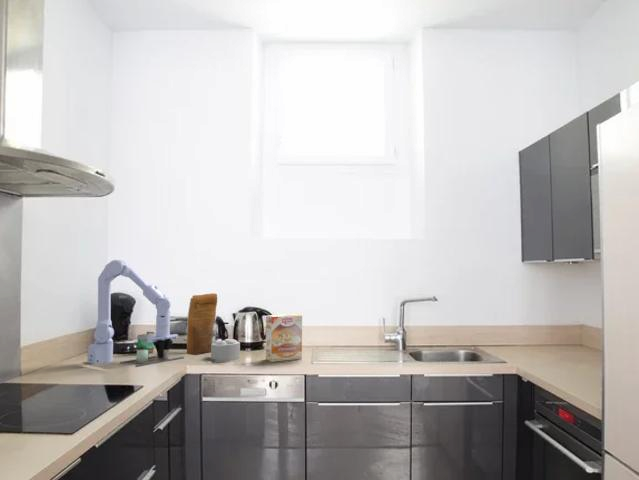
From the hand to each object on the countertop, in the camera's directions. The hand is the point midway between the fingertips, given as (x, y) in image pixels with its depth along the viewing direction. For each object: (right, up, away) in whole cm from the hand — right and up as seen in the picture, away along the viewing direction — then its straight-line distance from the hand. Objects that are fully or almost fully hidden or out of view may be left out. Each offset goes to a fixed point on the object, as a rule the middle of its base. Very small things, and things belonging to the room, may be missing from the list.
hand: (162, 357), depth 216 cm
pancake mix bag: (+12, -3, +21) cm, 24 cm away
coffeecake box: (+52, -2, +5) cm, 53 cm away
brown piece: (-4, -1, -5) cm, 7 cm away
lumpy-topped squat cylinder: (+26, -2, +5) cm, 26 cm away
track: (-3, -2, -4) cm, 5 cm away
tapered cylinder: (-6, 0, -8) cm, 10 cm away
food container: (-12, -3, +16) cm, 20 cm away
